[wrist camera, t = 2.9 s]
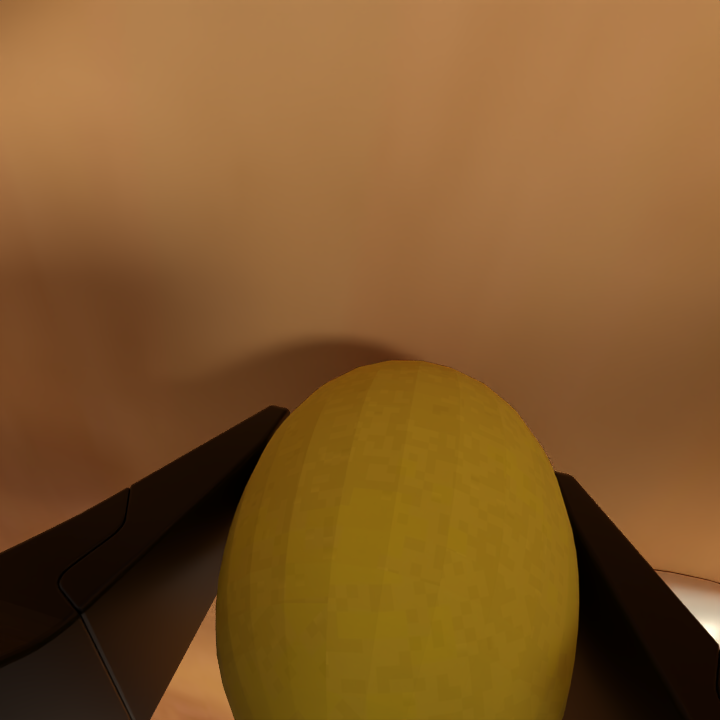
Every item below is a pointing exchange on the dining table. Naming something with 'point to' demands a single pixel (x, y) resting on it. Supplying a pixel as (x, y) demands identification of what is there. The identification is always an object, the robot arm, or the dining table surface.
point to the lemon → (399, 560)
